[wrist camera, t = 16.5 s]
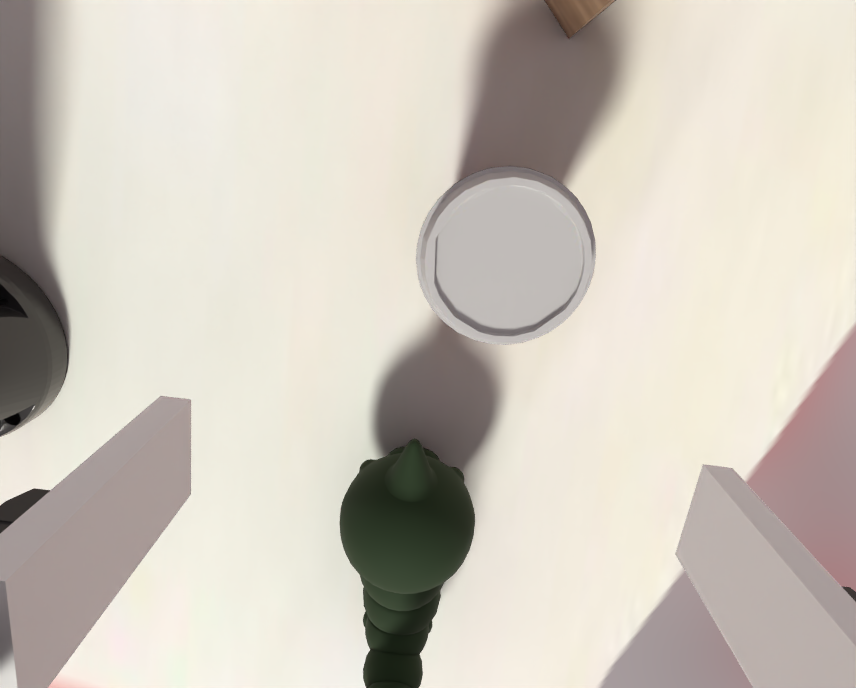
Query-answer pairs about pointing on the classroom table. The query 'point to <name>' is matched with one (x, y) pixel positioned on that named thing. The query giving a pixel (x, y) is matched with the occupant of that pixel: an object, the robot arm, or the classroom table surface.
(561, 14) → the walnut cover
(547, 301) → the disposable coffee cup
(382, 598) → the toy figurine
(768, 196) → the classroom table surface
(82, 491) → the robot arm
